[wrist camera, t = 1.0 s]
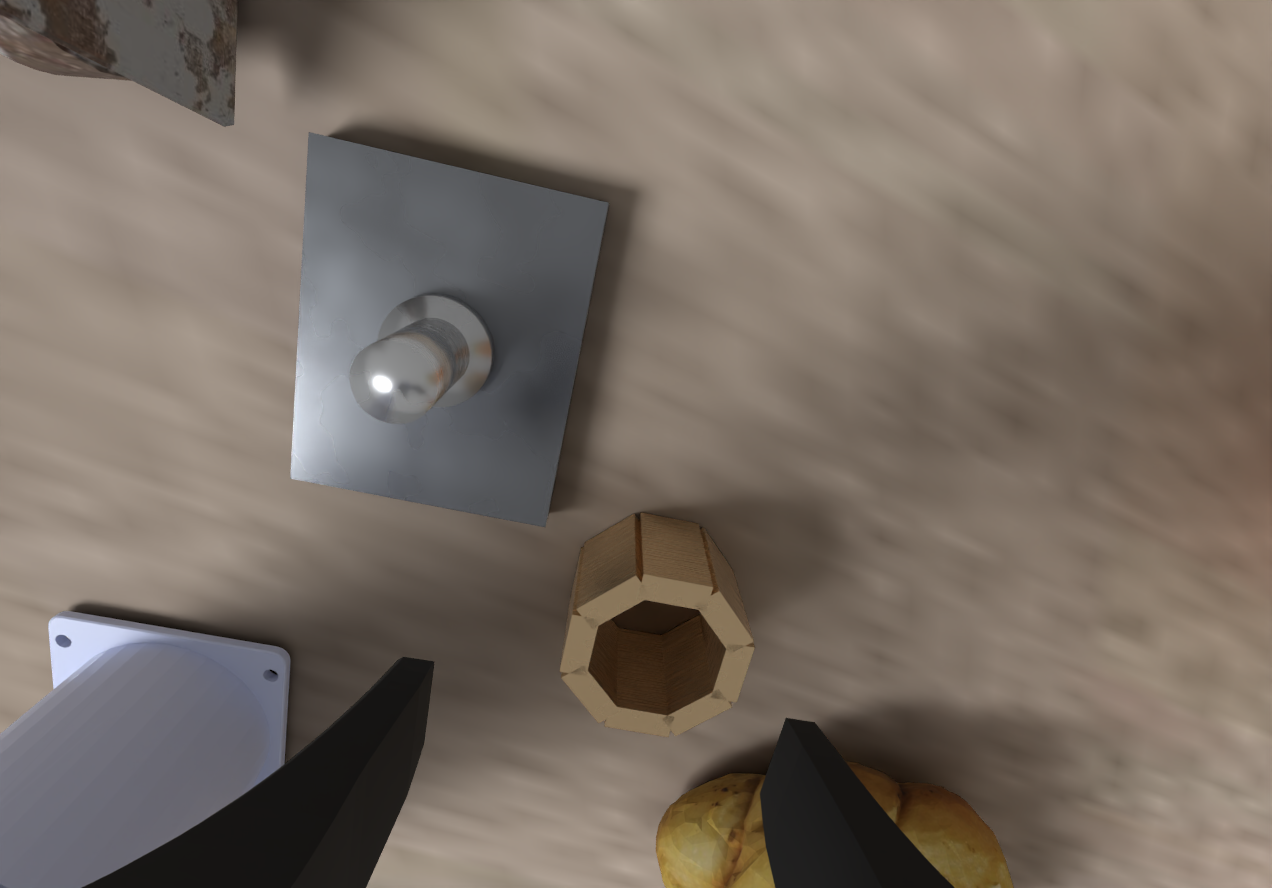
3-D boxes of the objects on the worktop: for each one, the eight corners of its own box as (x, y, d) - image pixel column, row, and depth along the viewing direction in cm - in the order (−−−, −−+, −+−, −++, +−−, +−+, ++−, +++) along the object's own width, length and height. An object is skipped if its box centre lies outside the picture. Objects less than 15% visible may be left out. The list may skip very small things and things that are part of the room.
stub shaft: (548, 513, 22) (527, 596, 17) (305, 466, 21) (214, 538, 17) (609, 202, 19) (603, 200, 14) (325, 136, 18) (219, 109, 13)
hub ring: (707, 662, 24) (722, 746, 20) (561, 636, 24) (549, 717, 20) (746, 533, 22) (771, 597, 19) (590, 502, 22) (583, 562, 18)
